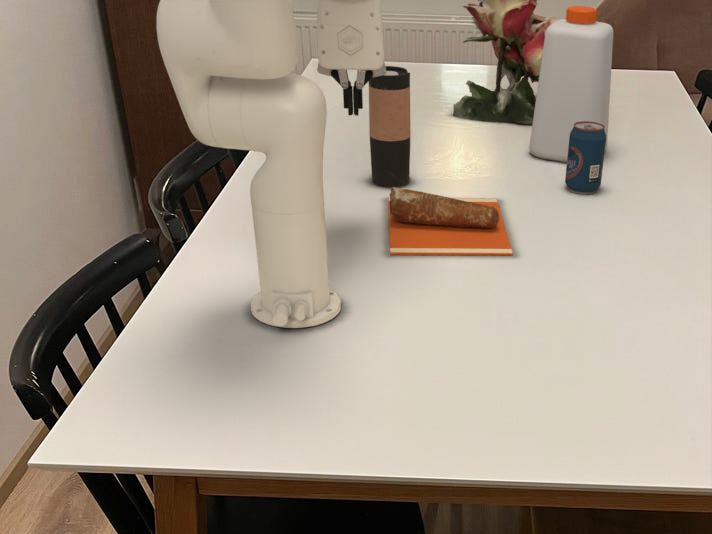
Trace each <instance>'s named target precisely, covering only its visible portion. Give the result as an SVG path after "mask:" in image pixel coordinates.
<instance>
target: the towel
mask: <svg viewBox="0 0 712 534" xmlns="http://www.w3.org/2000/svg"><path fill="white" fill-rule="evenodd" d="M452 198H453V199H458V200H462V201H467V202H472V203H476V204H481V205H486V206H491V207H494V208H496V209H497V211H498V213H499V222H498V224H497V226H496V227H493V228H471V227H468V228H466V227H451V226H441V225H426V224H414V223H407V222H402V221H399V220H397V219H393V218H392V216H391V215H390V205H389V204H388V229H389V230H388V231H389V233H388V234H389V255H390V256H493V257H494V256H495V257H496V256H498V257H499V256H501V257H502V256H503V257H504V256H506V257H509V256H513V255H514V253H513V249H512V246H511V242H510V240H509V236H508V231H507V229H506V226H505V223H504V219H503V216H502V213H501V208H500V205H499V203H498V199H497V198H484V197H483V198H477V197H475V198H474V197H473V198H472V197H452ZM389 202H390V196H388V203H389Z"/></svg>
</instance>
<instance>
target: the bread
mask: <svg viewBox="0 0 712 534" xmlns="http://www.w3.org/2000/svg"><path fill="white" fill-rule="evenodd" d="M389 197H390V202H389V201H388V206H389V205H390V215H391V216H392V218H393V219H397V220H399V221H402V222H407V223H414V224H426V225H441V226H451V227H466V228H468V227H471V228H493V227H496V226H497V224H498V222H499V213H498V211H497V209H496V208H494V207H491V206H486V205H481V204H476V203H472V202H467V201H462V200H458V199H453V198H454V197H449V196H443V195H439V194H433V193H429V192H424V191H420V190H419V191H418V190H414V189H409V188H400V187H390V193H389Z"/></svg>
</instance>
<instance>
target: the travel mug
mask: <svg viewBox="0 0 712 534" xmlns="http://www.w3.org/2000/svg"><path fill="white" fill-rule="evenodd" d="M385 67H386V74H385V75H382V76H378V77H373V78H371V79H370V80H369V81H368V123H369V124H368V126H369V127H368V128H369V149H370V150H369V152H370V168H371V169H370V170H371V182H372V183H373V184H374V185H376V186H379V187H383V188H392V187H397V188H400V187H404V186H407V185H408V184H409V183H410V170H411V169H410V168H411V134H412V133H411V72H409V71H408V69H407V68H405V67H401V66H396V65H395V66H394V65H385Z"/></svg>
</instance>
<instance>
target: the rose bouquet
mask: <svg viewBox="0 0 712 534" xmlns="http://www.w3.org/2000/svg"><path fill="white" fill-rule="evenodd" d="M477 1H478V2H479V4H476V3H467V5H462V8H464V9H466V10H467V11H468V12H469V14H470V15H471V19H472V20H473V21H471V23H472V25H473V27H474V28H475V29H477V30H478V31H479V32H480V33H481V36H469V37H467V38H465V39H464V40H463V41H462V43H465V44H466V43H469V42H471V43H474V42H476V43H488V42H491V45H492V48H493V52H494V56H495V57H496V58H497V65H496V75H495V88H494V90H491V89H488V88H487V87H485V86H483V85H480V84H477V83H475V82H474V81H472V80H469V79H468V80H467V81H466V82H465V85H467V87H468V89H469V93H470V94H471V95H467V94H465V95H463V96H462V97H461V99H459V101H457V102H456V103H454V104H453V111H452V112H453V113H452V116H454V117H457V118H459V119H467V120H473V121H482V122H493V123H494V122H495V123H496V122H497V123H502V122H504V123H507V122H513V123H517V124H523V125H532V124H533V117H534V110H535V103H536V96H535V91H534V89H533V87H532V86H531V84H534V83H538V82H539V75H540V68H541V61H542V54H543V47H544V40H545V33H546V30H547V28H548V27H549V26H550V25H551V24H553V23H554V22H556V21H558V20H561V19H562V18H558V17H556V16H551V17H549V16H548V17H547V18H546V17H545V16H542V15H540V14H535V13H534V11H535V9H536V8H537V5H538V0H477ZM505 76H506V79H507V80H508V83H509V85H508V86H507V88H502V86H501V83H502V80H503V79H504V78H505ZM529 79H530V82H531V83H530V82H529ZM487 86H488V85H487Z"/></svg>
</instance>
